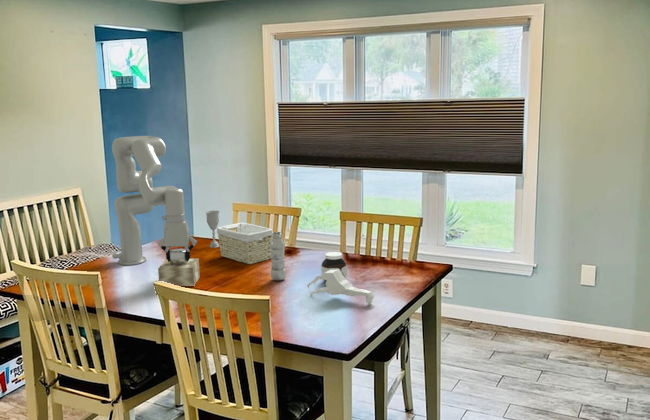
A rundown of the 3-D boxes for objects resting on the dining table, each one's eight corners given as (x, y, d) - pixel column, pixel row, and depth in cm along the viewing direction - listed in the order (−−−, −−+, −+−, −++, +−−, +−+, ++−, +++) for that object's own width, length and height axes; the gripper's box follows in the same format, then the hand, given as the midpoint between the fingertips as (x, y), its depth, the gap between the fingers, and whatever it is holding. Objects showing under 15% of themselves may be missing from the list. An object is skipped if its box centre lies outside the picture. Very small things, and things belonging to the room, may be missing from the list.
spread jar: (327, 286, 244) (327, 258, 242) (315, 279, 254) (314, 251, 252) (353, 281, 250) (353, 253, 248) (340, 274, 260) (339, 247, 258)
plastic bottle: (289, 278, 256) (287, 231, 253) (282, 282, 250) (280, 235, 246) (274, 277, 258) (272, 230, 255) (268, 281, 252) (266, 234, 248)
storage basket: (275, 258, 287) (274, 228, 285) (248, 266, 276) (246, 234, 273) (244, 250, 304) (242, 221, 301) (217, 257, 293) (215, 227, 290)
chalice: (224, 245, 315) (222, 211, 312) (216, 248, 309) (214, 213, 306) (212, 244, 318) (210, 210, 315) (204, 247, 312) (202, 212, 309)
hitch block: (159, 287, 248) (158, 268, 246) (166, 277, 261) (165, 259, 260) (194, 286, 248) (193, 267, 247) (199, 276, 262) (198, 258, 260)
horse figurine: (319, 319, 233) (372, 305, 219) (304, 279, 233) (356, 262, 219) (326, 315, 237) (378, 301, 223) (311, 275, 237) (363, 259, 223)
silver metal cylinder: (169, 281, 251) (167, 253, 249) (173, 276, 258) (171, 248, 256) (186, 280, 251) (184, 252, 249) (189, 275, 258) (187, 248, 256)
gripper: (152, 221, 246) (155, 264, 249) (195, 219, 246) (198, 262, 250) (156, 217, 253) (159, 259, 257) (198, 216, 254) (201, 257, 257)
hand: (178, 260), depth 253 cm, fingers closed on silver metal cylinder, 6 cm apart
